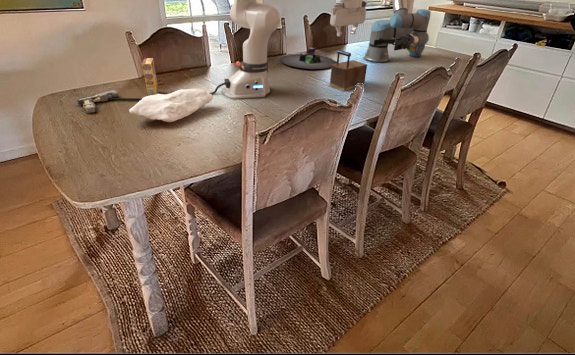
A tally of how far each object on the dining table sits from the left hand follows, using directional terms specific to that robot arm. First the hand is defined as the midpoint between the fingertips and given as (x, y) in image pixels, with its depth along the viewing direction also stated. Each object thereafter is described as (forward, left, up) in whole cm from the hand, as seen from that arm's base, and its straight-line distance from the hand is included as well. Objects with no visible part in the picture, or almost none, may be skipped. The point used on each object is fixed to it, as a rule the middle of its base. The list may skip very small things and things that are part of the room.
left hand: (346, 35), depth 172 cm
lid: (+5, +1, -16) cm, 16 cm away
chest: (+5, +1, -25) cm, 26 cm away
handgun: (-110, +19, -25) cm, 114 cm away
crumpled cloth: (-85, -3, -25) cm, 89 cm away
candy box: (-88, +22, -25) cm, 94 cm away
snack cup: (+85, +36, -25) cm, 95 cm away
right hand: (+30, +6, -8) cm, 32 cm away
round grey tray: (+8, +47, -25) cm, 54 cm away
